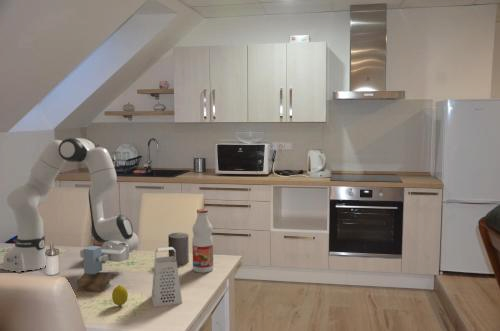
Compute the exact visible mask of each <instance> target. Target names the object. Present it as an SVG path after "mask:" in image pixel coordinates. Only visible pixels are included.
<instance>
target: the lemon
mask: <svg viewBox="0 0 500 331" xmlns="http://www.w3.org/2000/svg"><path fill="white" fill-rule="evenodd" d="M111 294H112V295H111V299H112V302H113V304H115V305H117V306H118V307H122V306H123V305H124V304H125V303H127V300H128V297H129V293H128V291H127V289H126V287H125V286H123V285H119V284H118V286H116V287H115V288H113V290H112V293H111Z"/></svg>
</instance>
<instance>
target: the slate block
mask: <svg viewBox="0 0 500 331" xmlns="http://www.w3.org/2000/svg"><path fill="white" fill-rule="evenodd" d="M86 247H87V248H86ZM86 247H84V249H83V248H82V249H83V256H84V258H83V272H84V273H89V274H96V273H98V272H103V263H102V261H101V262H97V259H96V258H97V257H99V256H102V252H101V247H99V246H93V245H89V246H86ZM84 273H83V274H84Z"/></svg>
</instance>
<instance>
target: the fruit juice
mask: <svg viewBox="0 0 500 331" xmlns="http://www.w3.org/2000/svg"><path fill="white" fill-rule="evenodd" d="M208 211H209V210H208V209H207V208H198V209H196V215H197V216H196V220H195V222H194V223H193V225H192V228H191V229H192V234H193V236H192V243H191V244H192V269H193V272H196V273H200V274H201V273H203V274H204V273H209V272H211V271H213V270H214V239H213V236H212V234H213V229H214V228H213V225H212V223H211V222H210V220H209V217H208Z"/></svg>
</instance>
